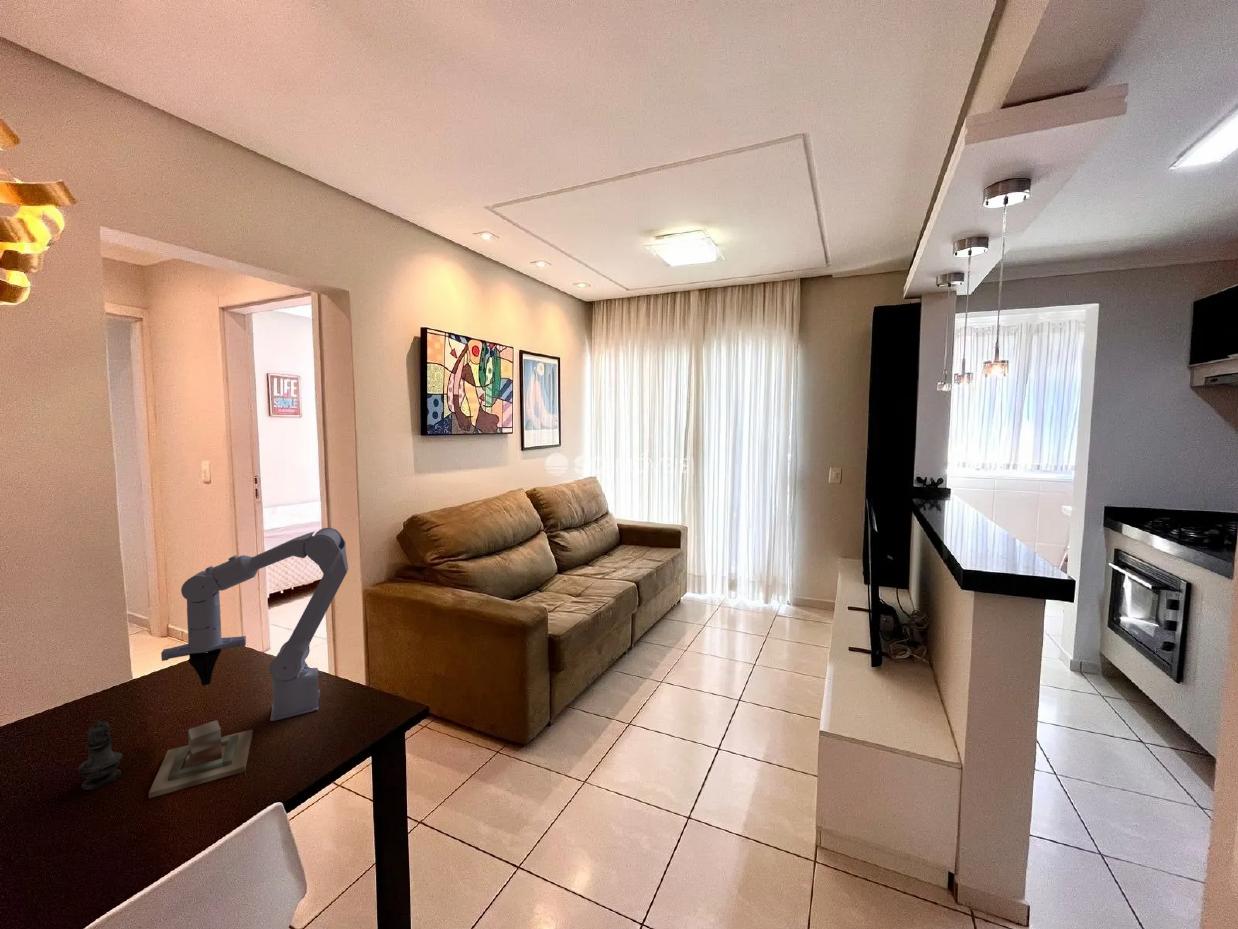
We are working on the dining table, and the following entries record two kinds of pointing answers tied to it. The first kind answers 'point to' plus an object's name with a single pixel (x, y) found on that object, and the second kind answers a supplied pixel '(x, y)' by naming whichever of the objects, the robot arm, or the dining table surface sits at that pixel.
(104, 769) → the dark grey chess piece
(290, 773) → the dining table surface
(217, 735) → the brown and beige block
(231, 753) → the pocket board
